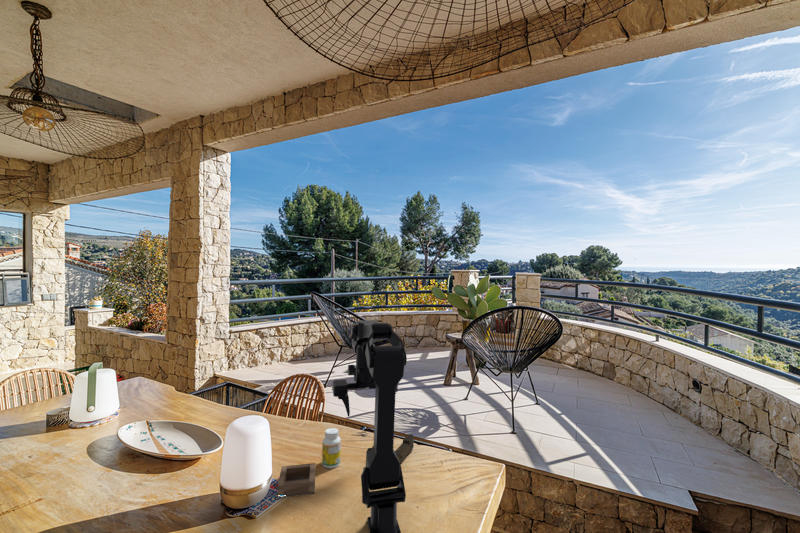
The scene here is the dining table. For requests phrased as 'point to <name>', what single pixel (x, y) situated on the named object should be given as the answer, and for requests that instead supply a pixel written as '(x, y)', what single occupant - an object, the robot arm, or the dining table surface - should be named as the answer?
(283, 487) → the socket block
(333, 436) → the supplement bottle
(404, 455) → the hand tool
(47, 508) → the dining table surface
